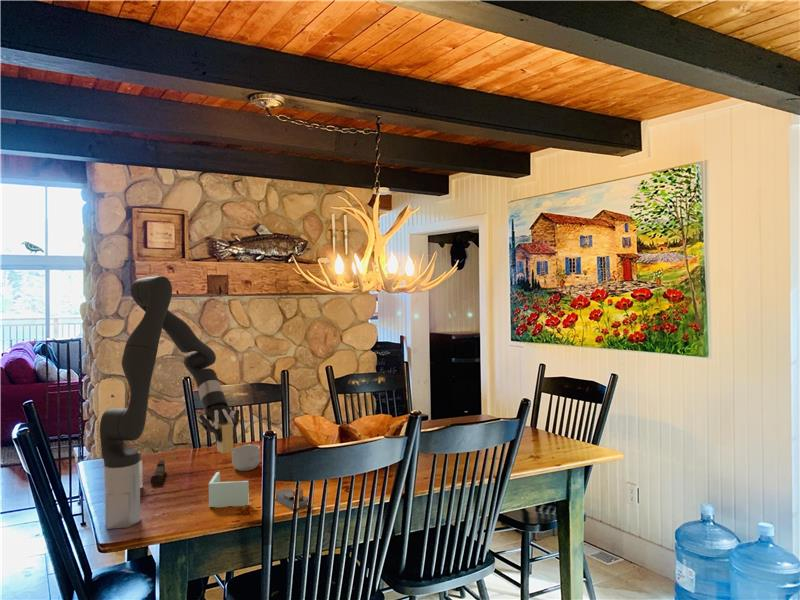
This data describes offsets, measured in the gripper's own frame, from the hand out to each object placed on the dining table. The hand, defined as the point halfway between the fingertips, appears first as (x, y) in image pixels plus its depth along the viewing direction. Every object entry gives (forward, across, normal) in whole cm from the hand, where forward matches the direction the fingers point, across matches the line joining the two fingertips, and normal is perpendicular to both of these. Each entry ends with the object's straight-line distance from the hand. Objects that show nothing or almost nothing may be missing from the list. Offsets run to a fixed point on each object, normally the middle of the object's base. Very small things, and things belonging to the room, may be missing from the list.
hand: (227, 439), depth 184 cm
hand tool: (-15, -10, +43) cm, 47 cm away
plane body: (+24, +15, +4) cm, 28 cm away
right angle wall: (+14, +1, +14) cm, 20 cm away
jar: (-11, -21, +39) cm, 46 cm away
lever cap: (+1, 0, +4) cm, 5 cm away
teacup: (-8, +20, +36) cm, 42 cm away
